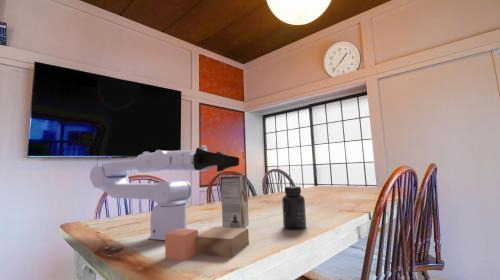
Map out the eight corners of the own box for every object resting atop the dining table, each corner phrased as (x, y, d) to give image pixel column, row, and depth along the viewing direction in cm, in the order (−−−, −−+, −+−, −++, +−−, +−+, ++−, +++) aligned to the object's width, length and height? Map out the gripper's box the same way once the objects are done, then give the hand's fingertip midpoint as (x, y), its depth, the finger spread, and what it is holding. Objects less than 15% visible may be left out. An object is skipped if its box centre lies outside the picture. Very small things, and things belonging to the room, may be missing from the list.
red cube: (165, 258, 53) (165, 234, 54) (180, 250, 58) (179, 228, 58) (184, 260, 51) (184, 235, 52) (198, 252, 56) (197, 229, 56)
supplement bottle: (278, 228, 74) (276, 187, 76) (292, 223, 79) (290, 185, 80) (297, 231, 70) (294, 188, 71) (311, 226, 74) (308, 186, 75)
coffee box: (230, 223, 83) (228, 175, 85) (249, 223, 82) (247, 174, 84) (222, 230, 74) (220, 176, 76) (242, 230, 73) (240, 175, 75)
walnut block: (196, 255, 55) (195, 236, 55) (216, 243, 63) (215, 227, 64) (232, 258, 52) (231, 238, 52) (249, 245, 60) (248, 228, 60)
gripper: (172, 142, 64) (217, 140, 58) (205, 149, 77) (244, 148, 71) (170, 170, 63) (215, 171, 57) (204, 172, 76) (243, 173, 70)
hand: (231, 160), depth 64 cm, fingers open, 7 cm apart
